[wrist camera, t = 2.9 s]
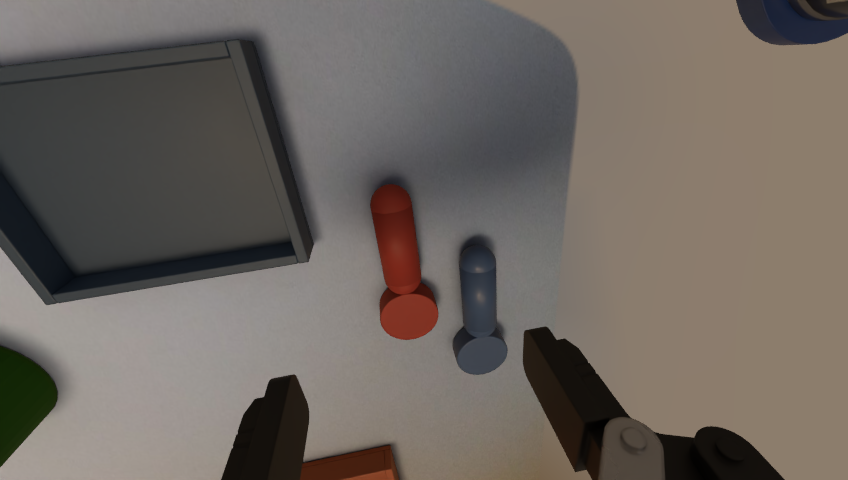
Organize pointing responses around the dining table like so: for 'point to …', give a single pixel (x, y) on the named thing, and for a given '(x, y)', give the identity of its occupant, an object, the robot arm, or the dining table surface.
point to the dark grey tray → (144, 171)
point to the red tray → (353, 466)
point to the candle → (22, 399)
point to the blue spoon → (479, 314)
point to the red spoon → (401, 266)
